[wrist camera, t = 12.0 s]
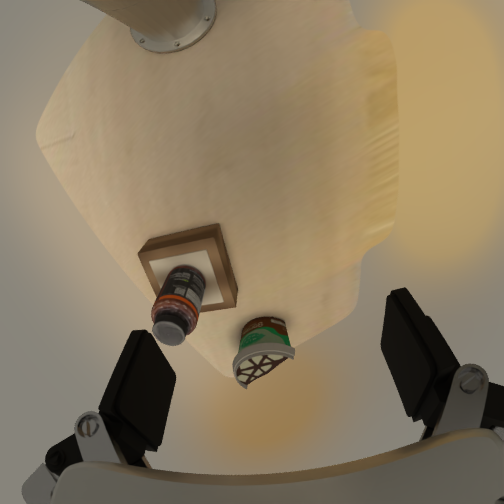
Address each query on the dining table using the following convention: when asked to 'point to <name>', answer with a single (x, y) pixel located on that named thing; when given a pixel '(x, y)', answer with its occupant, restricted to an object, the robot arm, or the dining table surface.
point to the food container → (261, 349)
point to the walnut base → (193, 263)
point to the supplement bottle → (178, 305)
